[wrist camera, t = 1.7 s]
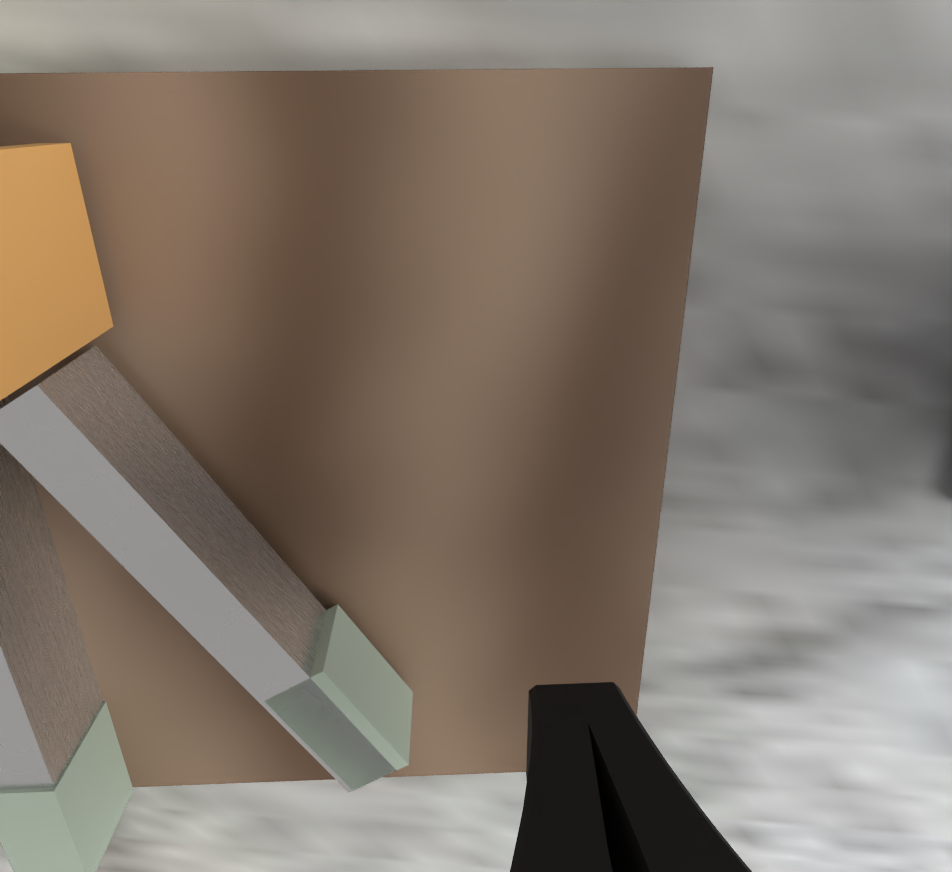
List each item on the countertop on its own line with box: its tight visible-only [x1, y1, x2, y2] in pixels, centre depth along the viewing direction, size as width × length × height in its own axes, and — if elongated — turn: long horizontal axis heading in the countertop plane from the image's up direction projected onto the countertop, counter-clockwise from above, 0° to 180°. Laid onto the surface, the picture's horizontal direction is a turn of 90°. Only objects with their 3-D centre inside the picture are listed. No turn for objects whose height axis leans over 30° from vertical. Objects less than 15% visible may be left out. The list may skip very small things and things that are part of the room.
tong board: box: [0, 67, 713, 872], centre depth 14 cm, size 15×16×3 cm
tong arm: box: [0, 345, 413, 792], centre depth 14 cm, size 2×10×2 cm, turn 30°
